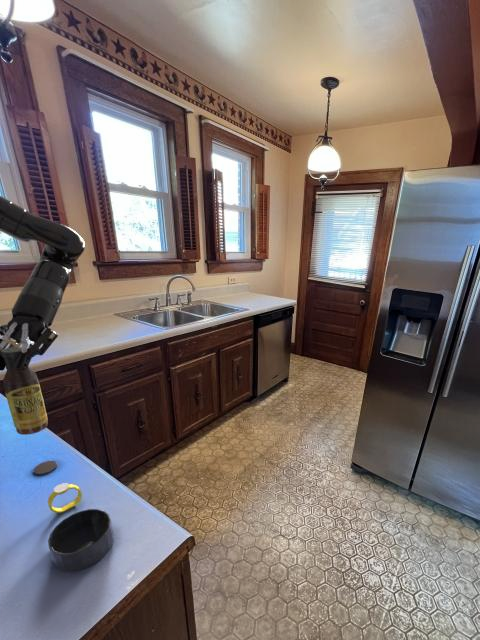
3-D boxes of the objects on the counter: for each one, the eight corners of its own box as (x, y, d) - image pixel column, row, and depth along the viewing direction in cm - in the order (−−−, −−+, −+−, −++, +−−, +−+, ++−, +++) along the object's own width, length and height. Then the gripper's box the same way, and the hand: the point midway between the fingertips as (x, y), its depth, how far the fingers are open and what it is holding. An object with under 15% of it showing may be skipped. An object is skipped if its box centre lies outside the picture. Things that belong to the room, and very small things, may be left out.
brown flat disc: (28, 472, 78) (28, 471, 78) (47, 460, 82) (46, 459, 82) (44, 476, 77) (44, 475, 77) (62, 464, 81) (62, 463, 81)
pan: (40, 562, 57) (34, 545, 55) (84, 520, 66) (80, 504, 64) (85, 578, 55) (80, 561, 53) (125, 532, 64) (121, 516, 62)
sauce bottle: (22, 439, 70) (-5, 357, 62) (12, 429, 73) (-15, 350, 65) (55, 427, 75) (34, 349, 67) (44, 418, 78) (22, 343, 70)
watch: (81, 497, 72) (75, 476, 69) (85, 503, 70) (80, 483, 68) (50, 511, 67) (43, 490, 65) (54, 519, 66) (47, 497, 63)
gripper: (-4, 290, 69) (-41, 360, 63) (57, 294, 68) (25, 366, 62) (23, 309, 76) (-8, 373, 70) (78, 313, 75) (52, 379, 69)
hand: (8, 369), depth 66 cm, fingers closed on sauce bottle, 4 cm apart
